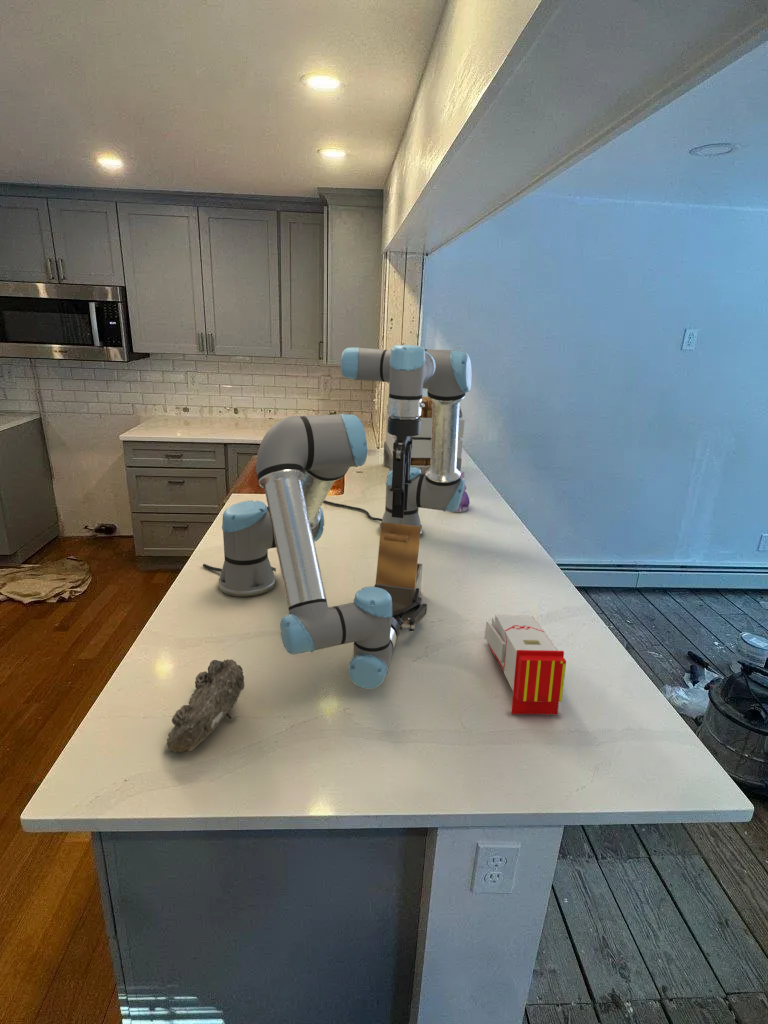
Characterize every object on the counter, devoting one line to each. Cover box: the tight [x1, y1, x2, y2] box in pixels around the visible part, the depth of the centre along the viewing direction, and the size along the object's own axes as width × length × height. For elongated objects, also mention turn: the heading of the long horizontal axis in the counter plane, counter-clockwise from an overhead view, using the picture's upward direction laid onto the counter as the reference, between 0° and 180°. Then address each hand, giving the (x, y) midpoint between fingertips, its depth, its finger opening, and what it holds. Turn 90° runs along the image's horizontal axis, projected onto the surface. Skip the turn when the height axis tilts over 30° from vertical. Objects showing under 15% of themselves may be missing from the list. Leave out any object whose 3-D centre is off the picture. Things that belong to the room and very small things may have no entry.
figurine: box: [453, 471, 470, 513], centre depth 225 cm, size 9×10×15 cm
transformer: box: [383, 396, 465, 474], centre depth 268 cm, size 34×33×41 cm
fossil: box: [166, 658, 245, 754], centre depth 106 cm, size 22×10×15 cm
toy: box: [484, 614, 567, 716], centre depth 124 cm, size 12×13×30 cm
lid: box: [375, 521, 421, 588], centre depth 138 cm, size 16×10×8 cm
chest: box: [375, 562, 423, 621], centre depth 151 cm, size 15×10×9 cm, turn 169°
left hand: (397, 590), depth 147 cm, fingers closed on chest, 10 cm apart
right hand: (399, 513), depth 136 cm, fingers open, 5 cm apart
